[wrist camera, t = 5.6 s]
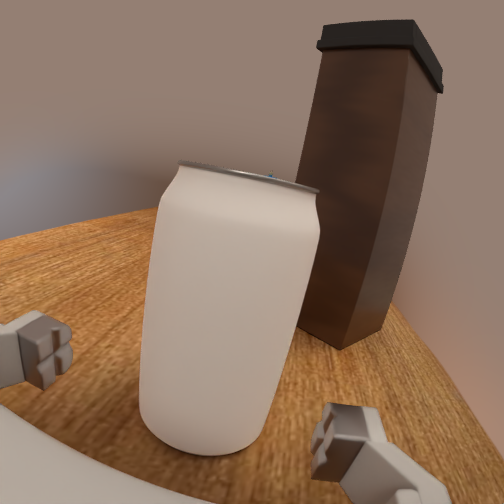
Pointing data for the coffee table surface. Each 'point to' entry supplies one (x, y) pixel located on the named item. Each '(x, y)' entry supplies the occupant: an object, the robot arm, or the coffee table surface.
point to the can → (222, 304)
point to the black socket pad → (384, 41)
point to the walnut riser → (363, 184)
